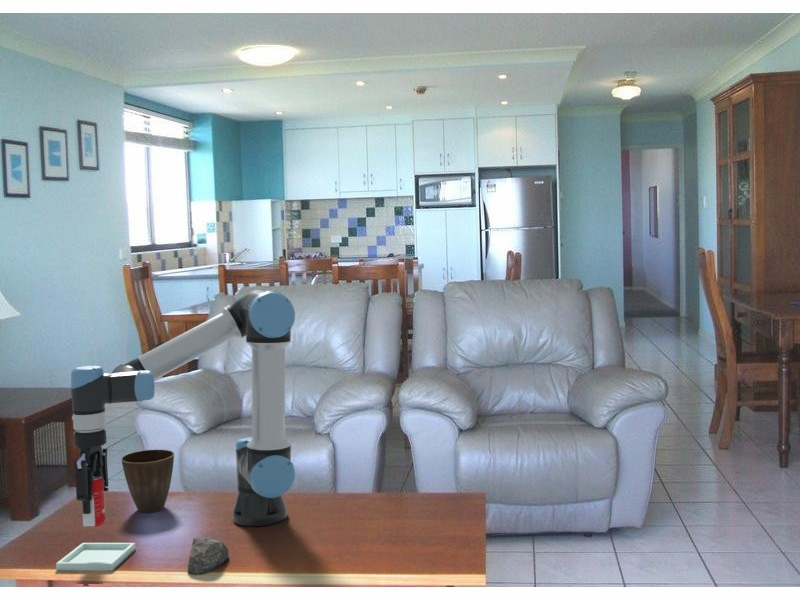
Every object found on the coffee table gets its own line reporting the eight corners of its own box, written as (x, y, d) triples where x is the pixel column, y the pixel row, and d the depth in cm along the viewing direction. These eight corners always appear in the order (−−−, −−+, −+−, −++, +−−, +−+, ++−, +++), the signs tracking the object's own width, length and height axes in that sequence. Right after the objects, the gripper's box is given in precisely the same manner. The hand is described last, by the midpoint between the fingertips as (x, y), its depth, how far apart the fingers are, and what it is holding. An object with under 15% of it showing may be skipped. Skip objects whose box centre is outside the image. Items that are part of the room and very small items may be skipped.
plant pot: (168, 516, 246) (165, 461, 245) (117, 518, 246) (113, 463, 245) (182, 500, 261) (179, 448, 260) (133, 502, 261) (130, 450, 260)
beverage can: (98, 528, 210) (95, 480, 209) (79, 527, 211) (76, 479, 210) (109, 521, 215) (107, 474, 214) (90, 520, 216) (88, 473, 215)
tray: (135, 549, 220) (135, 542, 220) (112, 570, 206) (112, 563, 206) (83, 549, 221) (82, 542, 221) (56, 570, 208) (56, 563, 207)
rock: (196, 554, 216) (195, 528, 215) (231, 553, 216) (230, 527, 215) (185, 575, 202) (184, 548, 202) (222, 574, 203) (221, 547, 202)
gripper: (91, 421, 221) (96, 510, 222) (57, 437, 203) (62, 534, 204) (119, 421, 220) (124, 510, 222) (87, 437, 202) (92, 534, 204)
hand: (94, 521), depth 213 cm, fingers closed on beverage can, 5 cm apart
